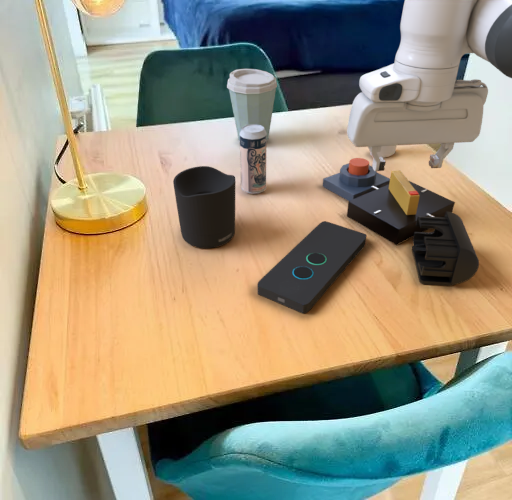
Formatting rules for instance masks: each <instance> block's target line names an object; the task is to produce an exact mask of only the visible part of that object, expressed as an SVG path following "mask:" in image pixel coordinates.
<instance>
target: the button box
mask: <svg viewBox="0 0 512 500" xmlns="http://www.w3.org/2000/svg"><path fill="white" fill-rule="evenodd" d="M348 170H349V162H348V163H346V164H343V165H341V167H340V169H339V172H337V173H334V174H332V175H329V176H327V177H324V178H323V179H322V188H324V189H326V190H327V191H330V192H331V193H333V194H335V195H337V196H339V197H341V198H342V199H344V200H345V201H350V200H353V199H355V198H357V197H360V196H362V195H365V194H367V193H369V192H372V191H374V190H377V189H375V188H373V187H372V186H375V187H377V188H381V187H384V186H386V185H388V184H389V183H390V177H387V176H385V175H383V174H381V173H379V172H378V171H374V169H373V167H372V165H370V164H369V169H368V174H366V175H360V176H358V175H352V174H350V173H349V172H348Z"/></svg>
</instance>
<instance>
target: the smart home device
mask: <svg viewBox="0 0 512 500" xmlns="http://www.w3.org/2000/svg"><path fill="white" fill-rule="evenodd" d="M367 237H368V236H367V234H366V233H364V232H361V231H358V230H355V229H352V228H348V227H345V226H342V225H339V224H337V223H332V222H329V221H327V220H323V221H321V222H320V223H318V224H317V225H316V226H315V227H314V228H313V229H312V230H311V231H310V232H309V233H308V234H307V235H306V236H305V237H303V239H301V240H300V241H299V242H298V243H297V244H296V245H295V246H294V247H293V248H292V249H291V250H290V251H289V252H288V253H287V254H286V255H285V256H283V258H282V259H280V261H278V262H277V263H276V264H275V265H274V266H273V267H272V268H271V269H270V270H269V271H267V273H266V274H265V275H264V276H263V277H262V278H261V279H259V280H258V282H257V295H258V296H261V297H262V298H265V299H268V300H270V301H272V302H275V303H277V304H280V305H281V306H284V307H287V308H289V309H291V310H293V311H296V312H298V313H301V314H307V313H308V312H309V311H311V309H312V308H313V307H315V305H316V304H317V302H318V301H319V300H320V299H321V298H322V296H323V295H324V294H325V293H326V292H327V291H328V290H329V288H330V287H331V286H332V285H333V284H334V283H335V281H336V280H337V279H338V278H339V277H340V276H341V275H342V273H343V272H344V271H345V270H346V269H347V268H348V266H349V265H350V264H351V263H352V262H353V261H354V260H355V258H357V256H358V255H359V254H360V252H361V251H363V249H364V248H365V247H366V244H367V243H366V242H367Z"/></svg>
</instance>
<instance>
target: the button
mask: <svg viewBox="0 0 512 500" xmlns="http://www.w3.org/2000/svg"><path fill="white" fill-rule="evenodd" d="M348 163H349V170H348V172H349V173H350V174H352V175H358V176H360V175H366V174H368V169H369V165H370V161H369V160H368V159H367V158H361V157H354V158H351V159H349V161H348Z"/></svg>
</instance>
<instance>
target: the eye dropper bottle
mask: <svg viewBox="0 0 512 500" xmlns="http://www.w3.org/2000/svg"><path fill="white" fill-rule="evenodd" d="M396 150H397V145H394V146H381V151H380V152H377V154H378V156H379V157H383V159H384V158H389V157H391V156H393V155H394V154H395V153H396ZM369 155H370V156H372V155H371V153H370V152H369Z"/></svg>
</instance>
